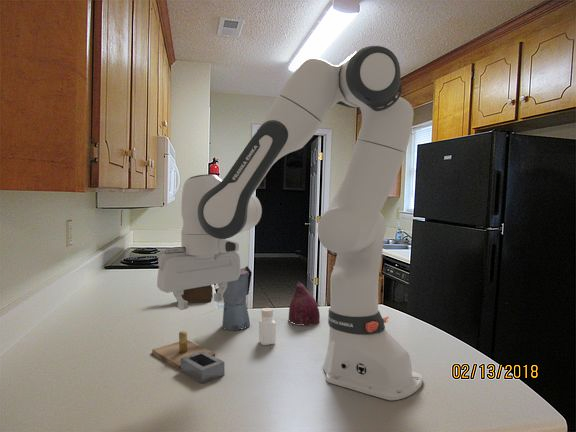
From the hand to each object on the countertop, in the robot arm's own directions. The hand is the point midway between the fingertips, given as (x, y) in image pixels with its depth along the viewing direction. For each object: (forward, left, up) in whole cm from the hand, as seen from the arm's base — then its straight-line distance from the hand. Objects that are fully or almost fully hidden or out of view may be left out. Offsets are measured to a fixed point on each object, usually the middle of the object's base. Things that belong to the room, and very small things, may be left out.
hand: (201, 304), depth 88 cm
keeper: (+11, -2, -16) cm, 20 cm away
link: (-1, 0, -16) cm, 16 cm away
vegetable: (+8, -45, -16) cm, 48 cm away
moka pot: (+20, -26, -16) cm, 37 cm away
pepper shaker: (+2, -23, -16) cm, 28 cm away
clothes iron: (+58, -33, -16) cm, 68 cm away
